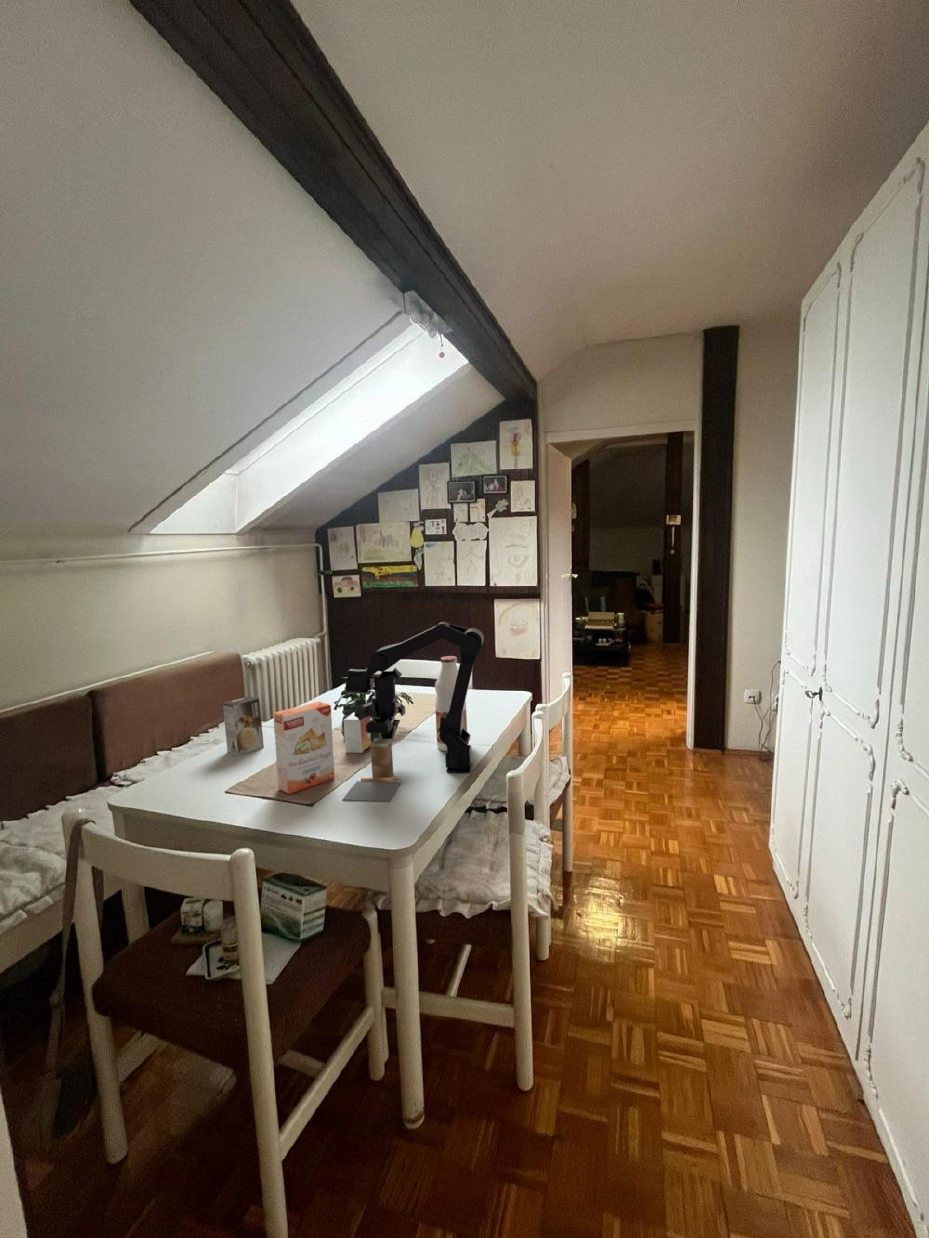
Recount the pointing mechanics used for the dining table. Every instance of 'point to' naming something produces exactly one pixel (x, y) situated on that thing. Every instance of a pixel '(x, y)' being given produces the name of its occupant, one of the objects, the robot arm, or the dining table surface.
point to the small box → (356, 734)
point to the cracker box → (303, 746)
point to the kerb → (379, 779)
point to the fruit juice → (446, 693)
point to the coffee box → (243, 725)
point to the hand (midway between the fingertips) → (388, 747)
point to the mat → (372, 791)
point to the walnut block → (382, 758)
